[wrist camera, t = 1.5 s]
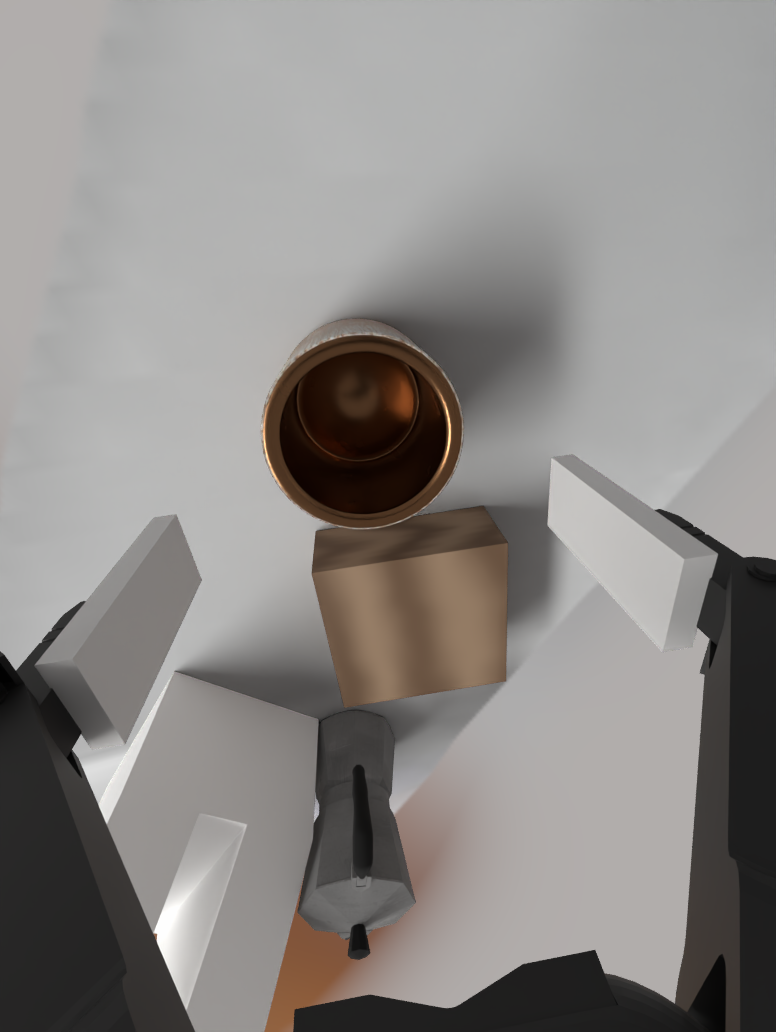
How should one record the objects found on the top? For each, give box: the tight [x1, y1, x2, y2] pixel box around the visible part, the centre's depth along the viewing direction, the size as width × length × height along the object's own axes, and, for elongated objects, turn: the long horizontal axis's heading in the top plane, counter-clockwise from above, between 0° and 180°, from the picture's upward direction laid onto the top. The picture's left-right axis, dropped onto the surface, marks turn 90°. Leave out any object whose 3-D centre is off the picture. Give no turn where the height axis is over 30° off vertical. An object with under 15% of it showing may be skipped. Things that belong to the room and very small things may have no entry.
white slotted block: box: [99, 671, 319, 1032], centre depth 36 cm, size 19×15×25 cm
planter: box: [261, 319, 464, 529], centre depth 27 cm, size 11×11×10 cm
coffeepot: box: [298, 710, 416, 960], centre depth 40 cm, size 15×9×18 cm, turn 175°
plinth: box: [312, 506, 508, 708], centre depth 37 cm, size 14×14×6 cm
